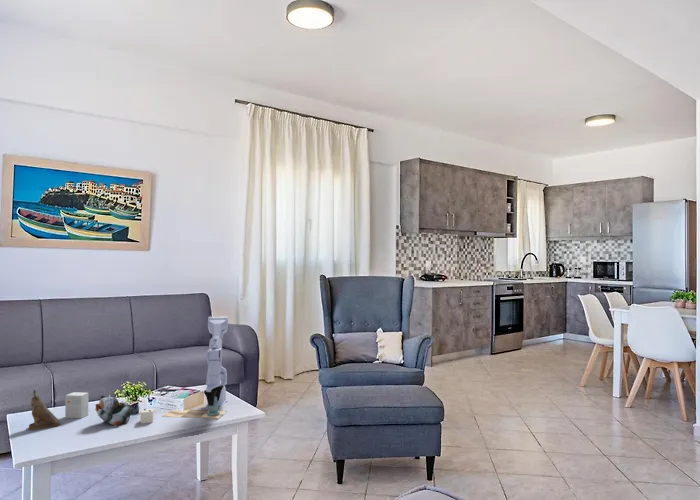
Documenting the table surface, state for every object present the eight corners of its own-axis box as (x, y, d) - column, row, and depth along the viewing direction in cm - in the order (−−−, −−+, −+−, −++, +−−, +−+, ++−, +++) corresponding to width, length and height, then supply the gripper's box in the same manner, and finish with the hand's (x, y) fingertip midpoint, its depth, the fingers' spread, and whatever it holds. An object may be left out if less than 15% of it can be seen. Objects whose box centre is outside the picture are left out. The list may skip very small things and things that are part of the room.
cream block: (142, 420, 228) (142, 408, 229) (153, 419, 230) (154, 407, 230) (140, 423, 224) (140, 411, 224) (152, 423, 225) (152, 410, 225)
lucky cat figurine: (124, 426, 219) (108, 401, 216) (101, 436, 220) (84, 411, 217) (138, 407, 234) (123, 382, 230) (116, 416, 235) (100, 392, 232)
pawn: (209, 412, 241) (210, 394, 241) (221, 412, 240) (221, 394, 240) (205, 415, 235) (205, 397, 235) (217, 416, 234) (217, 397, 235)
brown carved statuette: (29, 436, 214) (19, 396, 213) (30, 432, 219) (20, 392, 218) (60, 426, 219) (51, 387, 218) (61, 422, 224) (52, 384, 223)
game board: (173, 409, 245) (173, 408, 245) (227, 411, 243) (227, 410, 243) (161, 417, 233) (161, 416, 233) (218, 419, 231) (218, 418, 231)
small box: (88, 415, 236) (89, 392, 236) (81, 418, 230) (81, 395, 231) (72, 414, 237) (73, 391, 237) (64, 418, 231) (65, 395, 231)
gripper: (211, 370, 245) (210, 398, 245) (200, 377, 231) (199, 407, 231) (225, 371, 245) (225, 399, 245) (215, 378, 230) (214, 408, 230)
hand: (213, 403), depth 238 cm, fingers open, 7 cm apart
